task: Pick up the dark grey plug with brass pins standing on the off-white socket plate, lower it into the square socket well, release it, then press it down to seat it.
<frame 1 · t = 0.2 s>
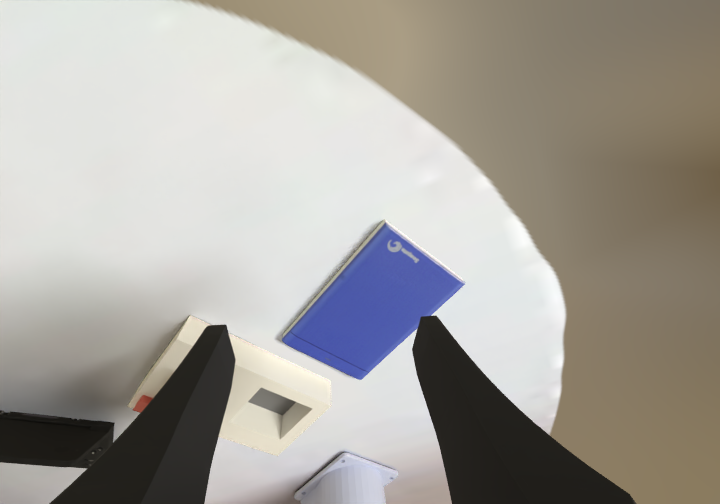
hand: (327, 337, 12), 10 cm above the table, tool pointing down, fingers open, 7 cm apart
hard drive: (369, 300, 26), on the table
handheld gaming console: (46, 420, 27), on the table
socket plate: (241, 379, 27), on the table
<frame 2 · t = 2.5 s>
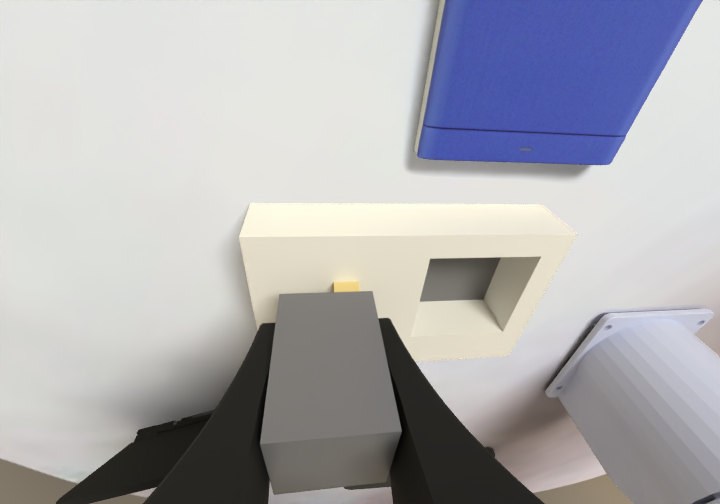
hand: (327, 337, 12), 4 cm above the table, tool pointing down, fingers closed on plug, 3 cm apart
handheld gaming console: (220, 413, 23), on the table
socket plate: (393, 273, 16), on the table
plug: (325, 305, 13), point 2 cm above the table, touching gripper, socket plate
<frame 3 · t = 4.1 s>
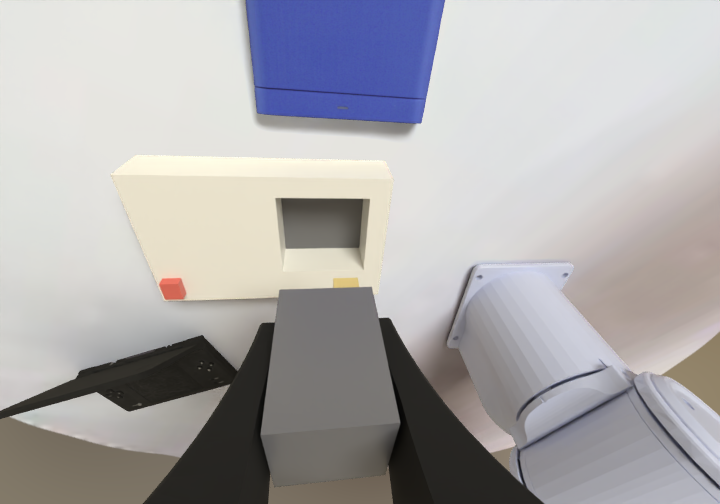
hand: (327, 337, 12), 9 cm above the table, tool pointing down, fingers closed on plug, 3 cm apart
handheld gaming console: (153, 357, 26), on the table
socket plate: (273, 221, 19), on the table
plug: (325, 301, 13), point 7 cm above the table, touching gripper
when the fingers open (3 cm above the table, at t = 5.8 s): plug stays where it is, resting on socket plate.
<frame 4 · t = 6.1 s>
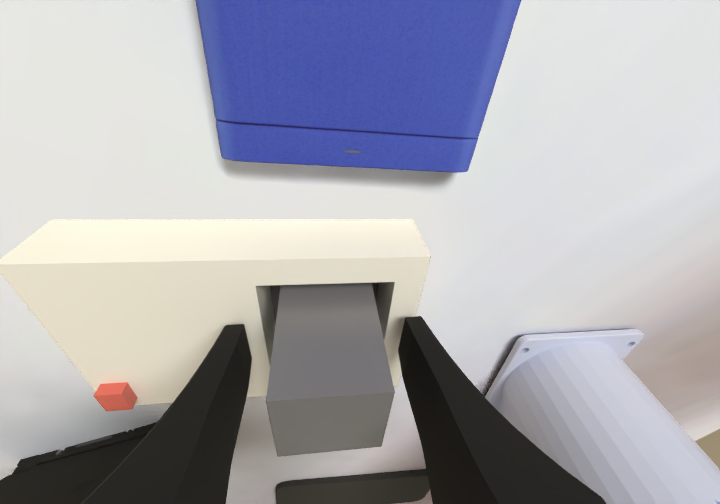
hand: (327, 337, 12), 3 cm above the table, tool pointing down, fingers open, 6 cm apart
phone: (355, 482, 31), on the table
handheld gaming console: (113, 440, 21), on the table
socket plate: (258, 295, 14), on the table
plug: (325, 288, 14), resting on socket plate
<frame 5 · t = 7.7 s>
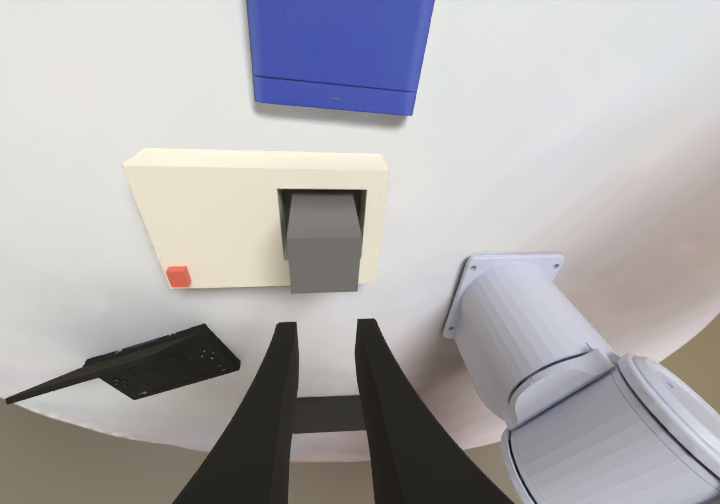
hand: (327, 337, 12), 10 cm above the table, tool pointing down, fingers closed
phone: (349, 407, 37), on the table
handheld gaming console: (157, 346, 27), on the table
socket plate: (275, 213, 20), on the table
plug: (322, 207, 20), resting on socket plate
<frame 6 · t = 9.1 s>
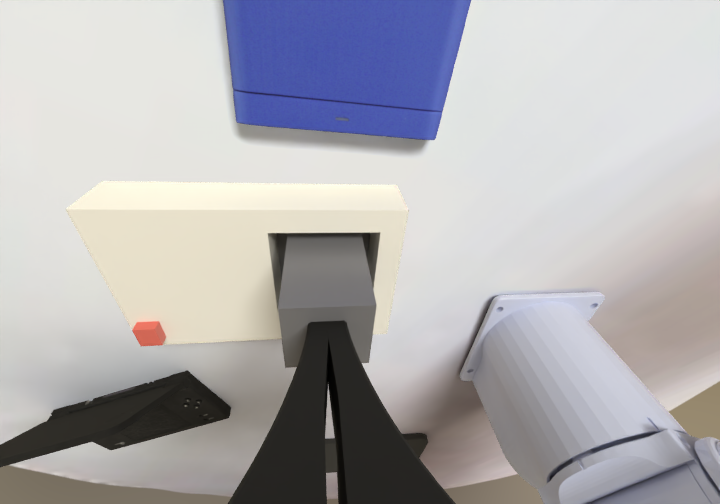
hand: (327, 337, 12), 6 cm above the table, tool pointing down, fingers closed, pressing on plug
phone: (352, 447, 34), on the table
handheld gaming console: (135, 393, 24), on the table
socket plate: (267, 253, 17), on the table
plug: (324, 246, 17), resting on socket plate, touching gripper
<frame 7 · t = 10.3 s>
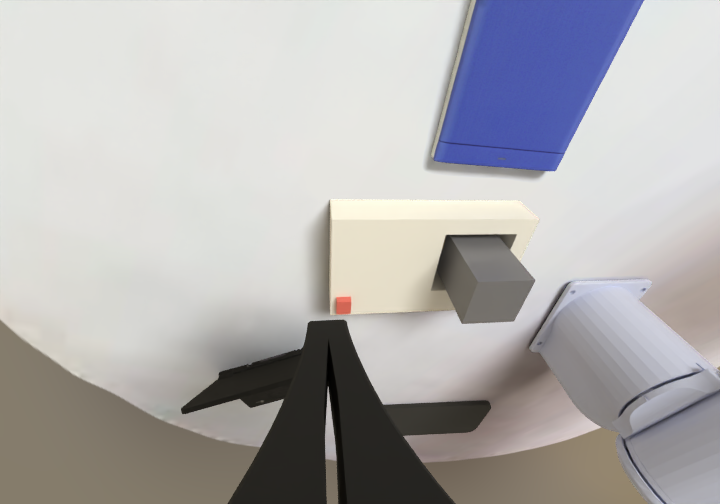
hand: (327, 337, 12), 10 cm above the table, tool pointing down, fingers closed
hard drive: (528, 43, 17), on the table
phone: (426, 413, 40), on the table
handheld gaming console: (280, 360, 30), on the table
socket plate: (417, 248, 23), on the table
plug: (459, 243, 23), resting on socket plate
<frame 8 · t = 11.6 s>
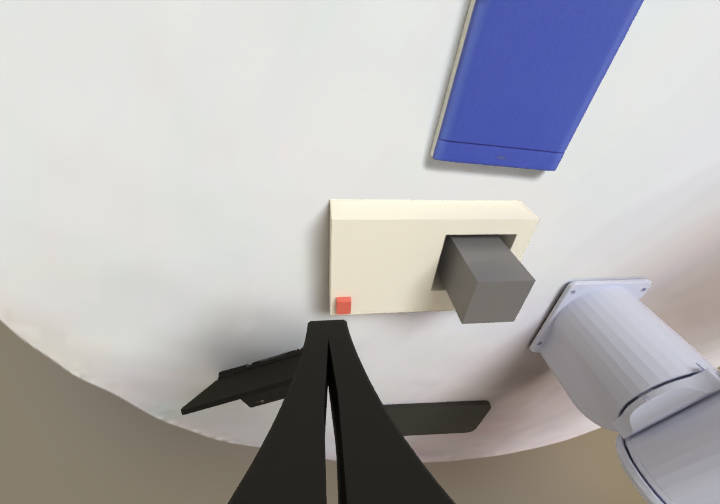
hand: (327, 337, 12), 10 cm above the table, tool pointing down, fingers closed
hard drive: (528, 42, 17), on the table
phone: (426, 413, 40), on the table
handheld gaming console: (279, 360, 30), on the table
socket plate: (417, 248, 23), on the table
plug: (459, 243, 23), resting on socket plate
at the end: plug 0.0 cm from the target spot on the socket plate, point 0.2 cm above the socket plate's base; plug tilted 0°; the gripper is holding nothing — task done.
